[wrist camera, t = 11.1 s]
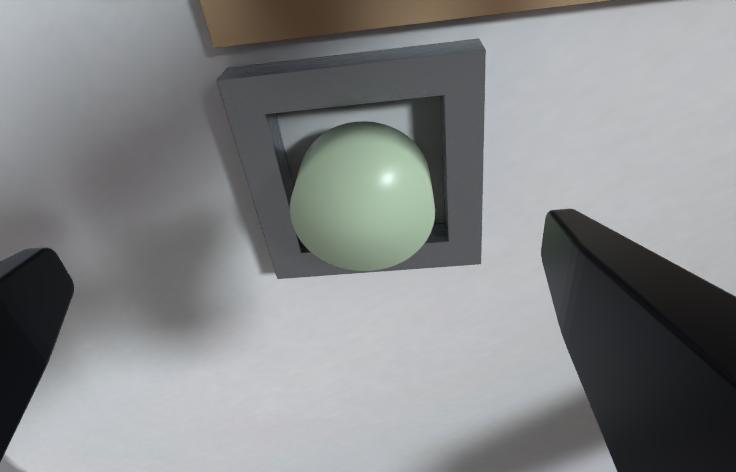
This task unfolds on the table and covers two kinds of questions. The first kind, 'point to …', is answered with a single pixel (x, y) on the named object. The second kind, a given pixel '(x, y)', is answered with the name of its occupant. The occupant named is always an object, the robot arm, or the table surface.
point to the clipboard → (341, 16)
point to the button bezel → (350, 87)
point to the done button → (363, 197)
